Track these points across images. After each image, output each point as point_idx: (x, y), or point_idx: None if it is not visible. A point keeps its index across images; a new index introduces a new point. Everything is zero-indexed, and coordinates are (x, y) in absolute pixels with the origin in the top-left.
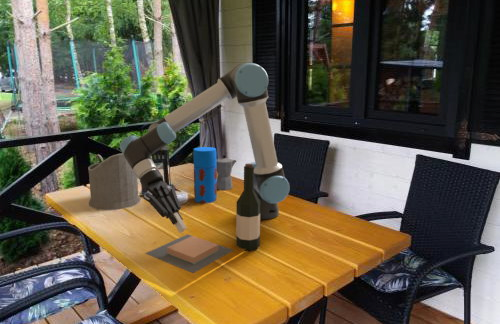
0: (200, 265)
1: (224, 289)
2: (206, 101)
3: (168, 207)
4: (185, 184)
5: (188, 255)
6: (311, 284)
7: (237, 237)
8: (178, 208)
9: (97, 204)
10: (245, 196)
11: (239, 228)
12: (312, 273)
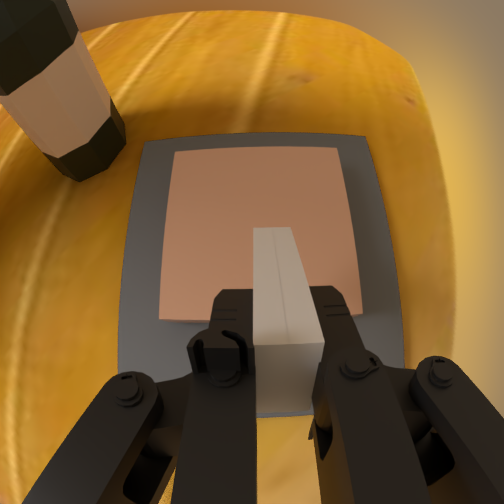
0: (316, 146)
1: (338, 68)
2: None
3: (379, 451)
4: None
5: (341, 172)
6: (207, 14)
7: (95, 136)
8: (159, 398)
9: None
10: None
11: (88, 92)
12: (169, 25)
